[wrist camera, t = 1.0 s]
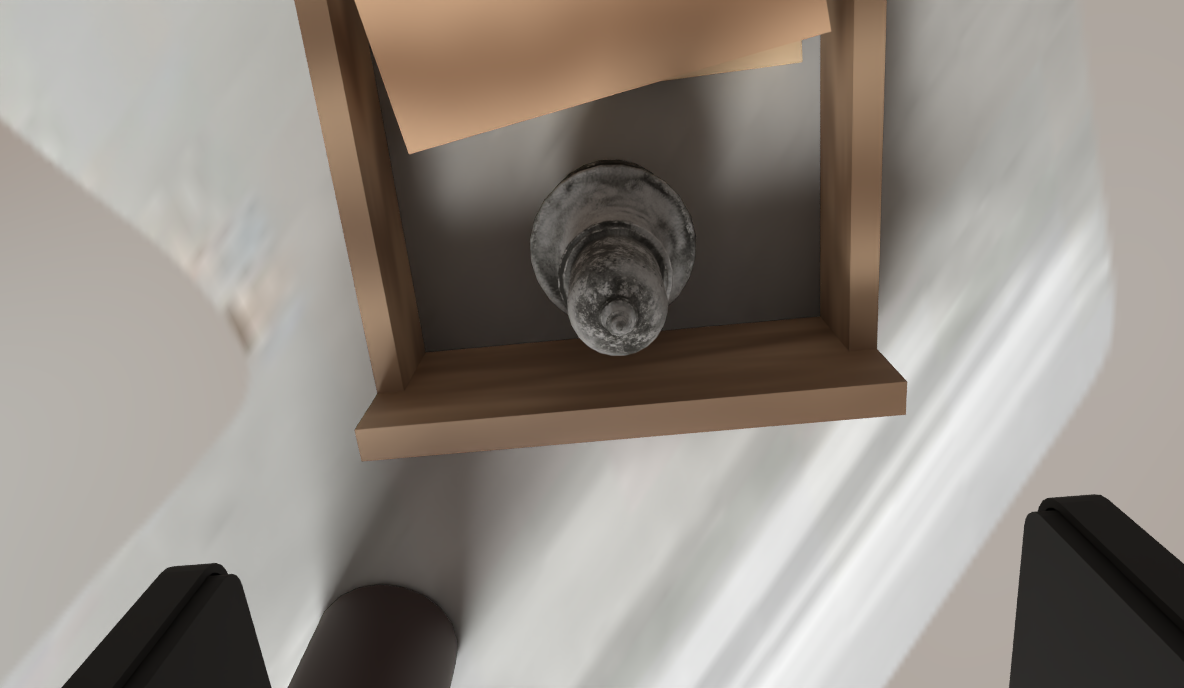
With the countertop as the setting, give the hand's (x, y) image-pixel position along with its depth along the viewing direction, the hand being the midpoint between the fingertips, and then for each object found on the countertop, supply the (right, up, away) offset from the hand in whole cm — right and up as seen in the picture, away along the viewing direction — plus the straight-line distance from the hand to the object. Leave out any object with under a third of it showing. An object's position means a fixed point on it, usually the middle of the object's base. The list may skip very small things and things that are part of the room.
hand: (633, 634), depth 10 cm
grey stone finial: (0, +8, +22) cm, 24 cm away
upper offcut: (0, +15, +17) cm, 23 cm away
